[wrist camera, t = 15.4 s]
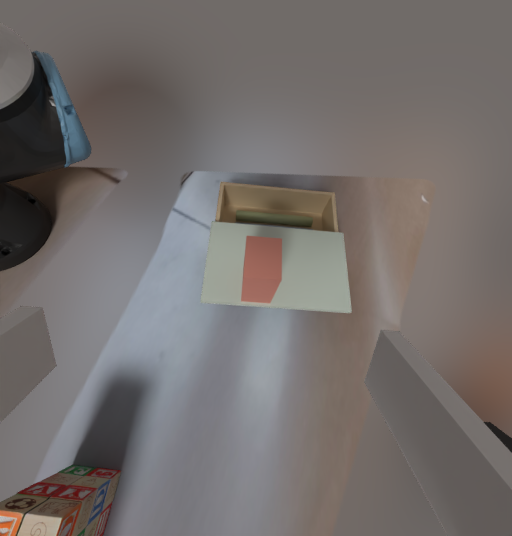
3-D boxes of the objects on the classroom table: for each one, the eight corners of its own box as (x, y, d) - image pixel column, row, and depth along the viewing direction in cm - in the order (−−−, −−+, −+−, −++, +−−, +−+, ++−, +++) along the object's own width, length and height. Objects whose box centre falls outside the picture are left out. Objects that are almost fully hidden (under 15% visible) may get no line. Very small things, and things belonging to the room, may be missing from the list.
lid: (201, 302, 35) (190, 276, 26) (212, 223, 40) (206, 179, 31) (349, 313, 36) (387, 291, 27) (341, 235, 41) (371, 195, 32)
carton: (214, 259, 44) (212, 242, 39) (221, 203, 49) (220, 181, 44) (327, 268, 45) (340, 253, 40) (323, 213, 50) (334, 192, 45)
